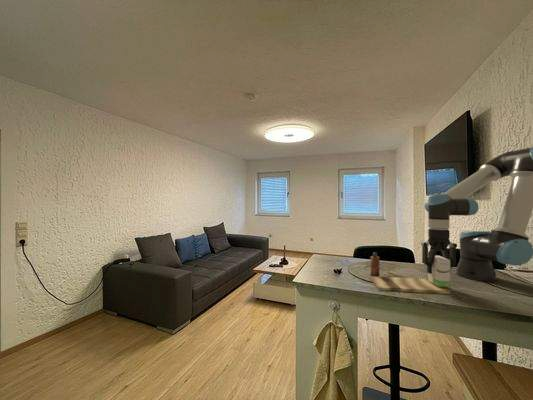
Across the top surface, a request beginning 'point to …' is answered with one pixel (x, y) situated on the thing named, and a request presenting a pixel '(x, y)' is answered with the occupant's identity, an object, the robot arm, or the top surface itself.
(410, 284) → the panel
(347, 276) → the top surface
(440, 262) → the ink box
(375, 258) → the brown bottle
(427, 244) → the robot arm
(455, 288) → the top surface
